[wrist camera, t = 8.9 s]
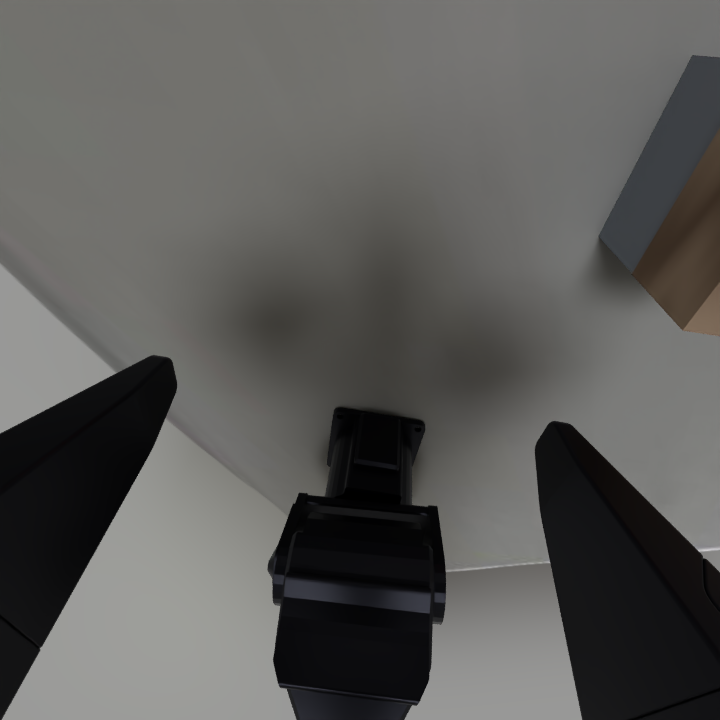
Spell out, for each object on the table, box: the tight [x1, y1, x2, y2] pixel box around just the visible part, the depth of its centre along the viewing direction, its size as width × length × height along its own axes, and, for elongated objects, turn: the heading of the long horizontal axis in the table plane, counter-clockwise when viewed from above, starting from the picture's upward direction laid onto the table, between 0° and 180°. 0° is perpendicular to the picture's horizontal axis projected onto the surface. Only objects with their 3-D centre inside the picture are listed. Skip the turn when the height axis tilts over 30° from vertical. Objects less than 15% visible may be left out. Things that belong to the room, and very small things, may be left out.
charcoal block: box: [599, 55, 720, 273], centre depth 16 cm, size 7×4×4 cm, turn 173°
